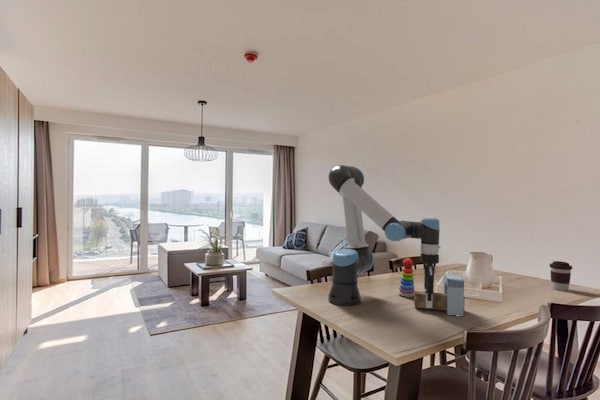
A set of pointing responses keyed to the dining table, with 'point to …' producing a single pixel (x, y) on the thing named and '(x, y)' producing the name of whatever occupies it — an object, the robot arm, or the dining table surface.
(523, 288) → the dining table surface
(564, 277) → the coffee cup
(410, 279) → the stacking toy
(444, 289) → the light blue arch block
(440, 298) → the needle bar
